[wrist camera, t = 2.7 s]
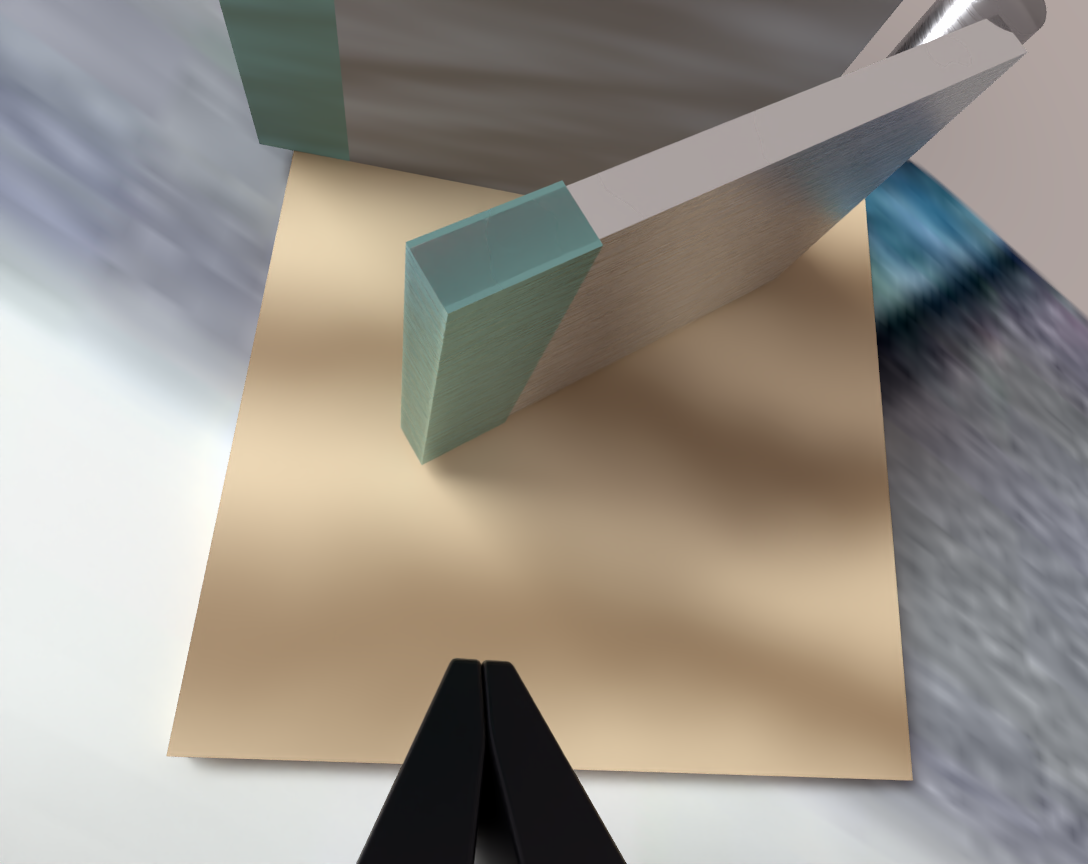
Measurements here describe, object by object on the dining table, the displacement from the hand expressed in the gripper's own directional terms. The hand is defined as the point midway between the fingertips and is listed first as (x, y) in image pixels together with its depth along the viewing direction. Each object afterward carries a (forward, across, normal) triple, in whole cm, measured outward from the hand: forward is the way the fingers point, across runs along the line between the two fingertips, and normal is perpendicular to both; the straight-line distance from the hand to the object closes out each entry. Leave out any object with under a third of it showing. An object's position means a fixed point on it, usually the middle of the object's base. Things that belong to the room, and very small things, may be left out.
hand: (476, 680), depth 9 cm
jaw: (+11, -4, -2) cm, 12 cm away
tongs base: (+10, -3, +1) cm, 11 cm away
